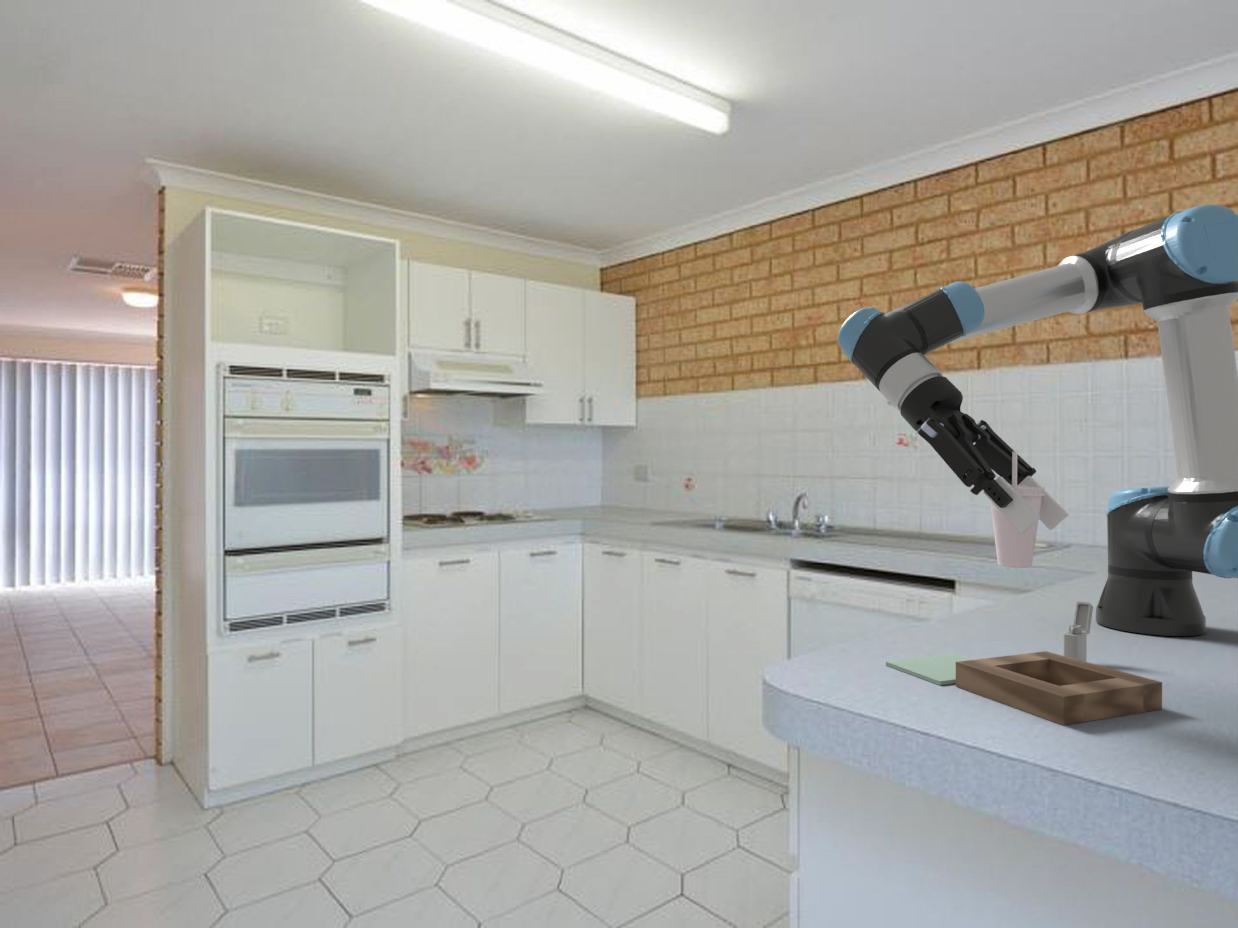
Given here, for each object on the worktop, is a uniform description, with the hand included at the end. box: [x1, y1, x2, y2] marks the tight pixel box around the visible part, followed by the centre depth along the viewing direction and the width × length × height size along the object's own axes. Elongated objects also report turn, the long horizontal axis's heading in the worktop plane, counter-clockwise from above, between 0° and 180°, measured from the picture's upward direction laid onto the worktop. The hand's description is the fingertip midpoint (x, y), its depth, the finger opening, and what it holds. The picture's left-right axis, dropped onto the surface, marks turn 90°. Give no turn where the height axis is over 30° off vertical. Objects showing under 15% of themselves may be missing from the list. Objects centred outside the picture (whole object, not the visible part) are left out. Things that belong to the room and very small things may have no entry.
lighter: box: [1063, 601, 1094, 662], centre depth 107 cm, size 7×2×8 cm, turn 134°
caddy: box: [955, 650, 1163, 726], centre depth 91 cm, size 15×15×3 cm
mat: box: [885, 653, 975, 686], centre depth 103 cm, size 12×10×1 cm
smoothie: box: [989, 451, 1045, 569], centre depth 95 cm, size 6×6×14 cm
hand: (1045, 523), depth 92 cm, fingers closed on smoothie, 6 cm apart
